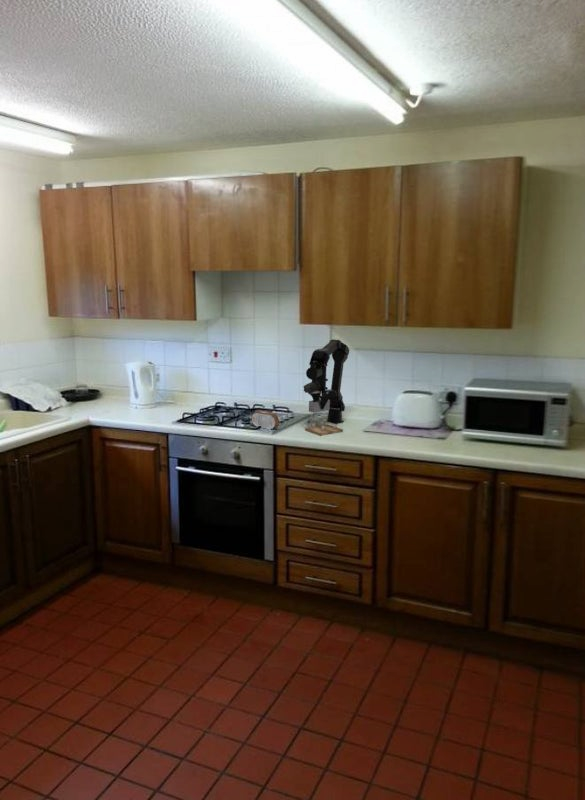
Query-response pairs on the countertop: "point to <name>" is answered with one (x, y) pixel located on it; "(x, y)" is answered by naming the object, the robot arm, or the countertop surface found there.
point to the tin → (265, 419)
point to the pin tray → (323, 429)
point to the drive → (318, 406)
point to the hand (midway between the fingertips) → (319, 408)
